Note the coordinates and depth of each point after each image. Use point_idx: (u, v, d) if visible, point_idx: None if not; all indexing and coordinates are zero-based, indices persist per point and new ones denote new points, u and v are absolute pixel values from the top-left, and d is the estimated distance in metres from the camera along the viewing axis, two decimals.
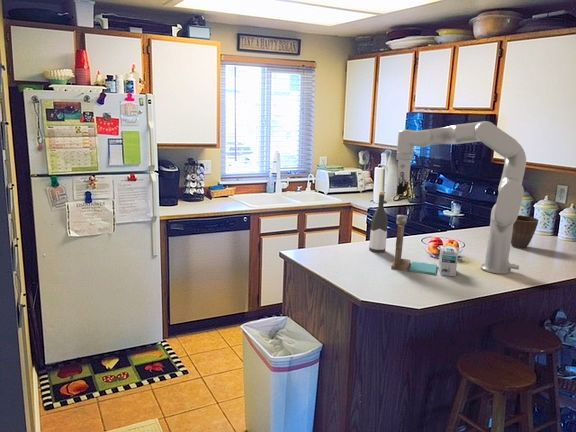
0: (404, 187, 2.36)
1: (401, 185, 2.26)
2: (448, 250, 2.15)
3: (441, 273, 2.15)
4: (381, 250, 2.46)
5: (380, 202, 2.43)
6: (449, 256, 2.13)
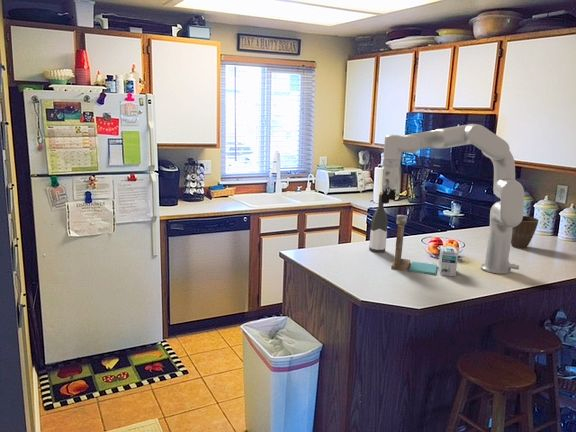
0: (393, 195, 2.25)
1: (385, 193, 2.15)
2: (448, 250, 2.15)
3: (441, 273, 2.15)
4: (381, 250, 2.46)
5: (380, 202, 2.43)
6: (449, 256, 2.13)
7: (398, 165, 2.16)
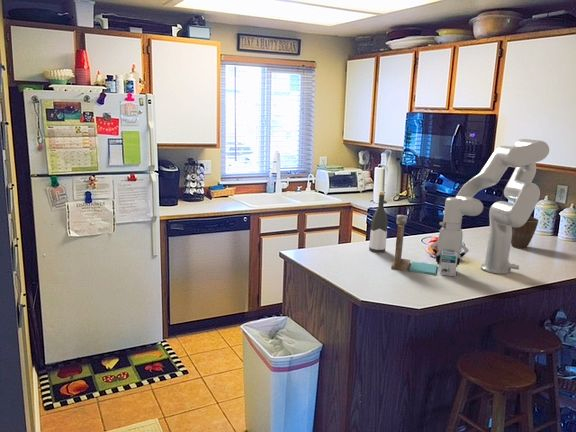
0: None
1: None
2: (448, 250, 2.15)
3: (441, 273, 2.15)
4: (381, 250, 2.46)
5: (380, 202, 2.43)
6: (449, 256, 2.13)
7: (448, 228, 2.12)
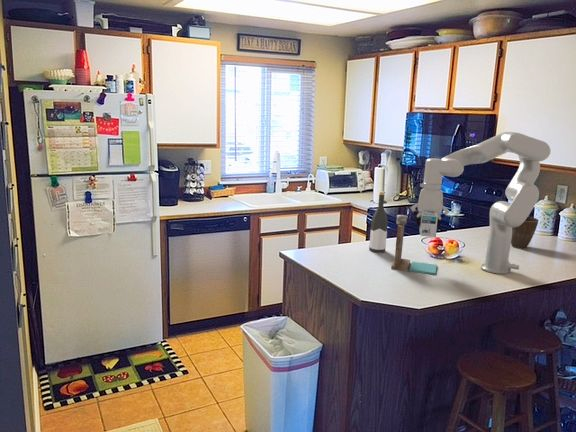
0: None
1: None
2: (428, 211, 2.14)
3: (421, 234, 2.15)
4: (381, 250, 2.46)
5: (380, 202, 2.43)
6: (429, 217, 2.12)
7: (428, 189, 2.12)
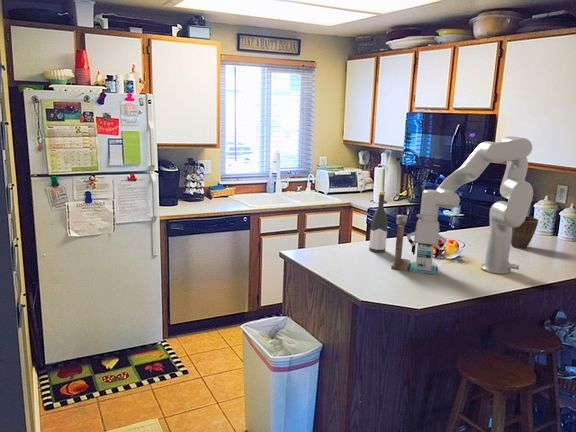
0: (435, 252, 2.19)
1: None
2: (424, 245, 2.18)
3: (417, 268, 2.18)
4: (381, 250, 2.46)
5: (380, 202, 2.43)
6: (424, 251, 2.16)
7: (425, 220, 2.15)
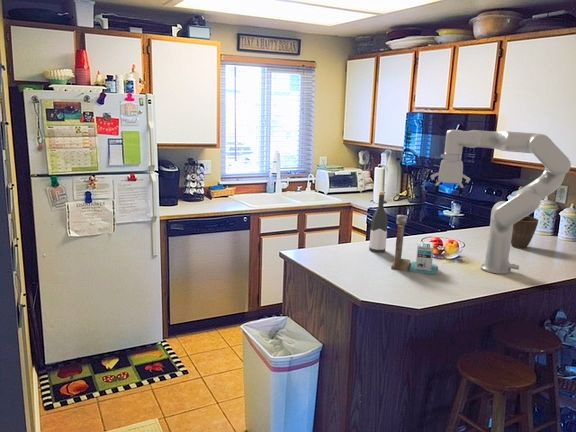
0: (459, 191, 2.24)
1: None
2: (424, 245, 2.18)
3: (417, 268, 2.18)
4: (381, 250, 2.46)
5: (380, 202, 2.43)
6: (424, 251, 2.16)
7: (449, 159, 2.20)
